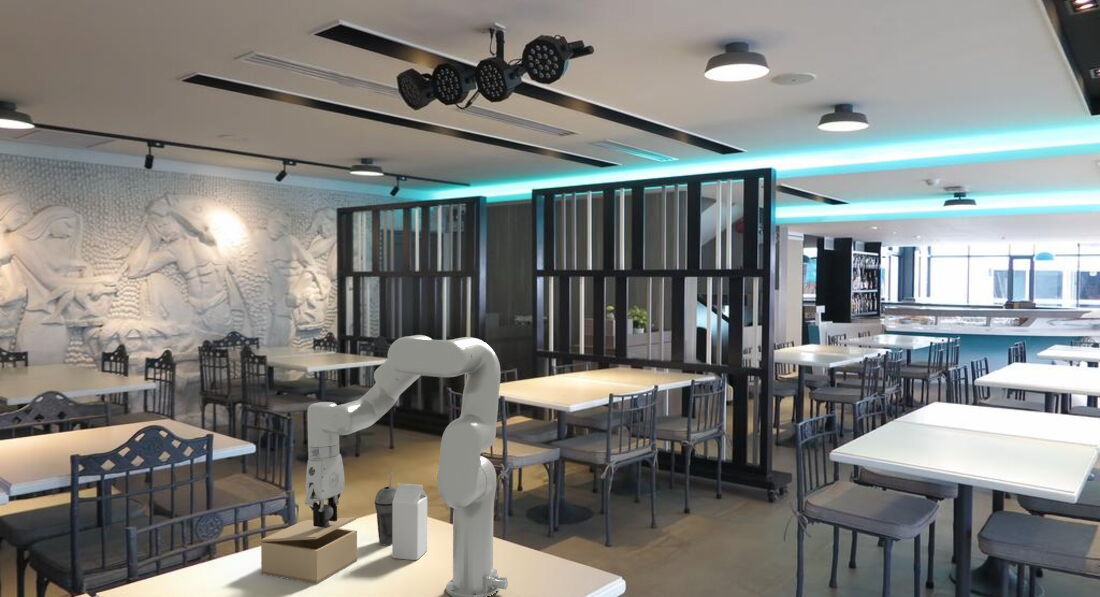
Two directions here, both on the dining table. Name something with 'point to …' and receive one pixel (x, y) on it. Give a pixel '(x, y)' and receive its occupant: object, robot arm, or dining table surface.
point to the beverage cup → (385, 513)
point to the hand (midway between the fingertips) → (325, 522)
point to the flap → (309, 528)
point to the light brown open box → (310, 556)
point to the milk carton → (409, 522)
